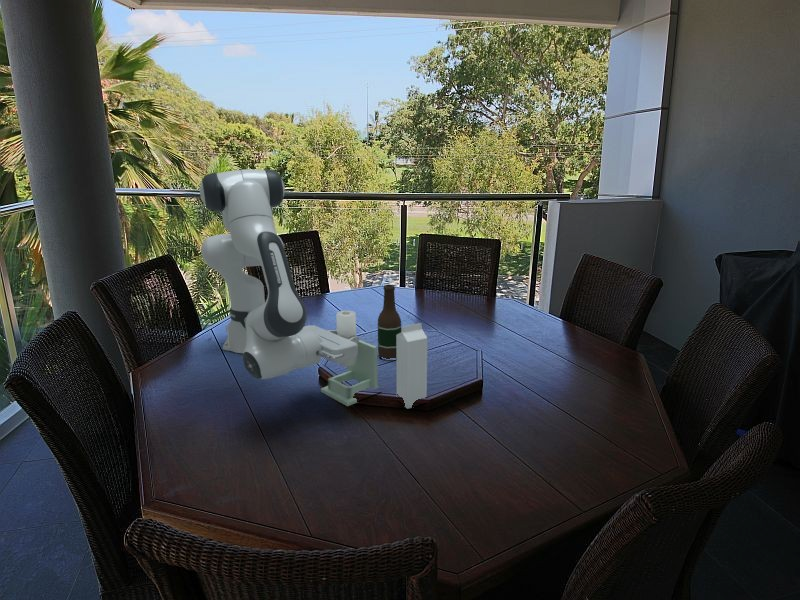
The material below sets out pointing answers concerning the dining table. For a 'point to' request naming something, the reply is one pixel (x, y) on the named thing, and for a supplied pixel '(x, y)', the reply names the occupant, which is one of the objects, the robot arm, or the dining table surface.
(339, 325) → the roll
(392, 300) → the beer bottle
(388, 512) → the dining table surface
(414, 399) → the milk
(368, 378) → the holder
